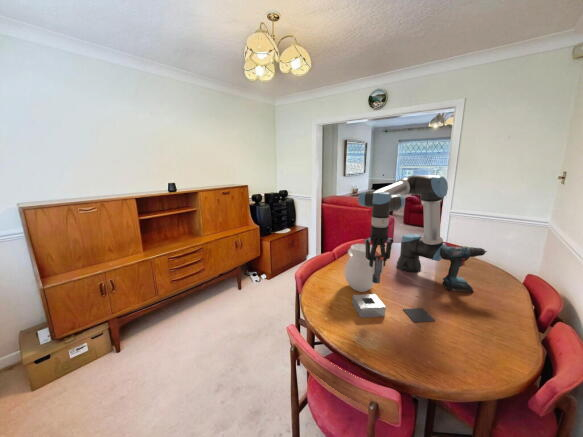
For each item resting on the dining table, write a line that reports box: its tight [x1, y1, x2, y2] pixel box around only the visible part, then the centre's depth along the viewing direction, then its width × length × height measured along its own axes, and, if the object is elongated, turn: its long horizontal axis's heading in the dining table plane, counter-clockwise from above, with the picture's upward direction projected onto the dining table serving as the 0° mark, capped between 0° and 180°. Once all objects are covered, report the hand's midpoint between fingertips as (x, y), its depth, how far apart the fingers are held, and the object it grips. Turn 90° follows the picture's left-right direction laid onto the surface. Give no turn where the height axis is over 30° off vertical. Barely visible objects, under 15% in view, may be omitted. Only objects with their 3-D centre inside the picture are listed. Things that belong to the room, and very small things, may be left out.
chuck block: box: [352, 293, 387, 319], centre depth 123 cm, size 12×12×5 cm
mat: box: [402, 307, 436, 324], centre depth 118 cm, size 10×10×1 cm
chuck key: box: [372, 250, 384, 284], centre depth 120 cm, size 9×4×14 cm, turn 5°
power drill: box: [440, 245, 488, 293], centre depth 140 cm, size 9×23×25 cm, turn 78°
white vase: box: [344, 243, 376, 293], centre depth 142 cm, size 19×18×25 cm
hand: (376, 272), depth 120 cm, fingers closed on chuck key, 3 cm apart
